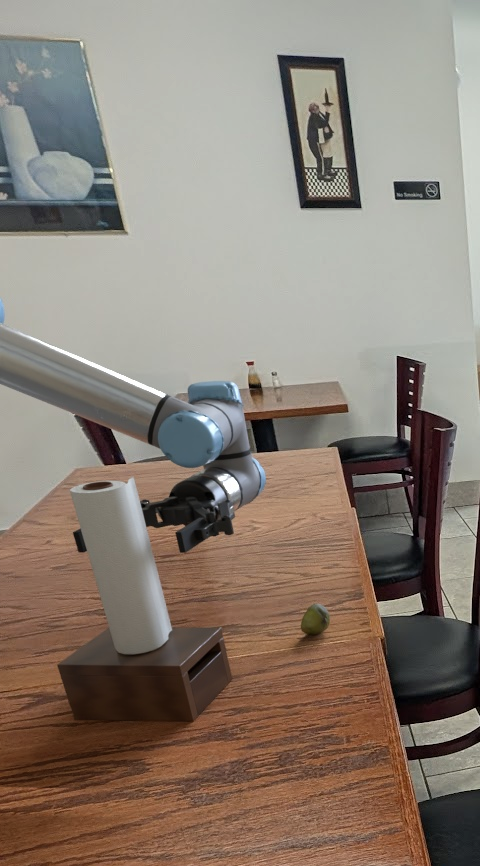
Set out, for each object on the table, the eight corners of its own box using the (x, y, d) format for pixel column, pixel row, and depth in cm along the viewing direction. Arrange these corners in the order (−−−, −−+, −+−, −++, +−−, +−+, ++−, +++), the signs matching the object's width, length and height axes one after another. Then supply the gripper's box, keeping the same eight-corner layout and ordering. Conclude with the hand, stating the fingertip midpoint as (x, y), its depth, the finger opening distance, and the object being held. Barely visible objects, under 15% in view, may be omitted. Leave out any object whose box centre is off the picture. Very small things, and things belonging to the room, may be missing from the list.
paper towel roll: (118, 660, 104) (70, 493, 95) (114, 643, 109) (68, 483, 99) (178, 647, 107) (138, 484, 98) (172, 631, 112) (133, 475, 102)
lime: (302, 641, 128) (297, 611, 126) (304, 628, 132) (299, 600, 130) (331, 638, 129) (326, 608, 126) (332, 626, 133) (328, 597, 131)
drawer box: (74, 719, 107) (56, 664, 103) (124, 677, 117) (109, 626, 114) (193, 721, 106) (179, 665, 102) (232, 678, 116) (221, 627, 113)
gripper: (289, 523, 125) (229, 570, 106) (131, 523, 126) (45, 569, 107) (280, 474, 121) (217, 513, 102) (119, 474, 123) (27, 514, 104)
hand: (128, 542), depth 105 cm, fingers open, 13 cm apart
